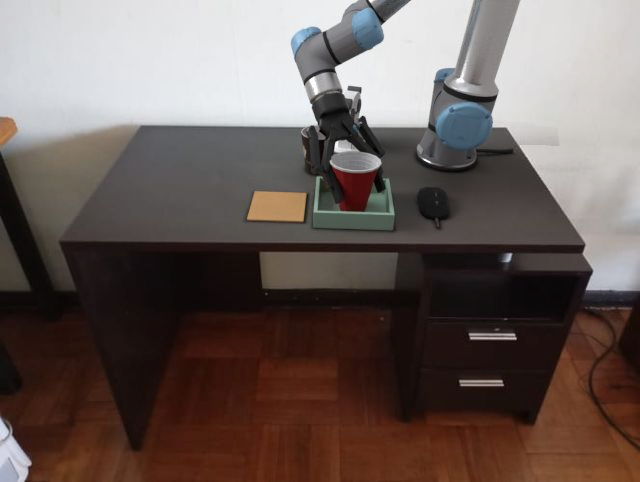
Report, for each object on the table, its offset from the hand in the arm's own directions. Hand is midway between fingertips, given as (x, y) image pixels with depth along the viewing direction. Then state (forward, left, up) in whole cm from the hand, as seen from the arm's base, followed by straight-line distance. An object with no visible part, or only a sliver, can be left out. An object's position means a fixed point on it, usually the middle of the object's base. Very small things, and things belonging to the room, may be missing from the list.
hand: (361, 196), depth 106 cm
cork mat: (+18, -3, -5) cm, 19 cm away
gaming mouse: (-16, -4, -5) cm, 18 cm away
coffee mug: (+10, -23, -5) cm, 25 cm away
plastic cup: (+2, -3, -5) cm, 6 cm away
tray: (+2, -3, -5) cm, 6 cm away
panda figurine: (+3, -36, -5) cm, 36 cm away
